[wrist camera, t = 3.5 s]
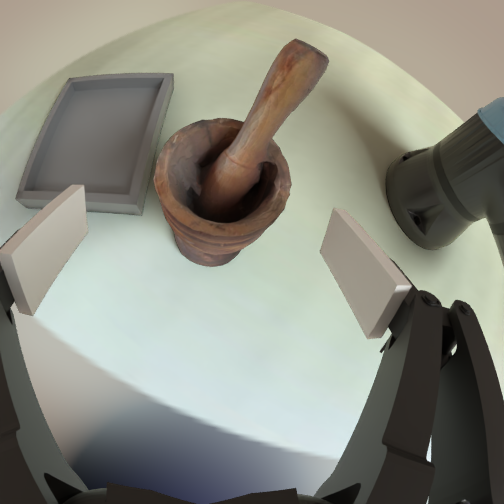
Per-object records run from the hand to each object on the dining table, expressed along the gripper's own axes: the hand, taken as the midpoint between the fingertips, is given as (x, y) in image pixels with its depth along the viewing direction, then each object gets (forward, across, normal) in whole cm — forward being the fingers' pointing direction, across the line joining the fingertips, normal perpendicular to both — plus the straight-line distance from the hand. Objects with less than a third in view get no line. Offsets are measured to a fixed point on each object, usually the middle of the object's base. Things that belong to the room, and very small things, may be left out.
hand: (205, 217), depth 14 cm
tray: (+21, -15, 0) cm, 25 cm away
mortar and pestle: (+15, +1, -7) cm, 16 cm away
